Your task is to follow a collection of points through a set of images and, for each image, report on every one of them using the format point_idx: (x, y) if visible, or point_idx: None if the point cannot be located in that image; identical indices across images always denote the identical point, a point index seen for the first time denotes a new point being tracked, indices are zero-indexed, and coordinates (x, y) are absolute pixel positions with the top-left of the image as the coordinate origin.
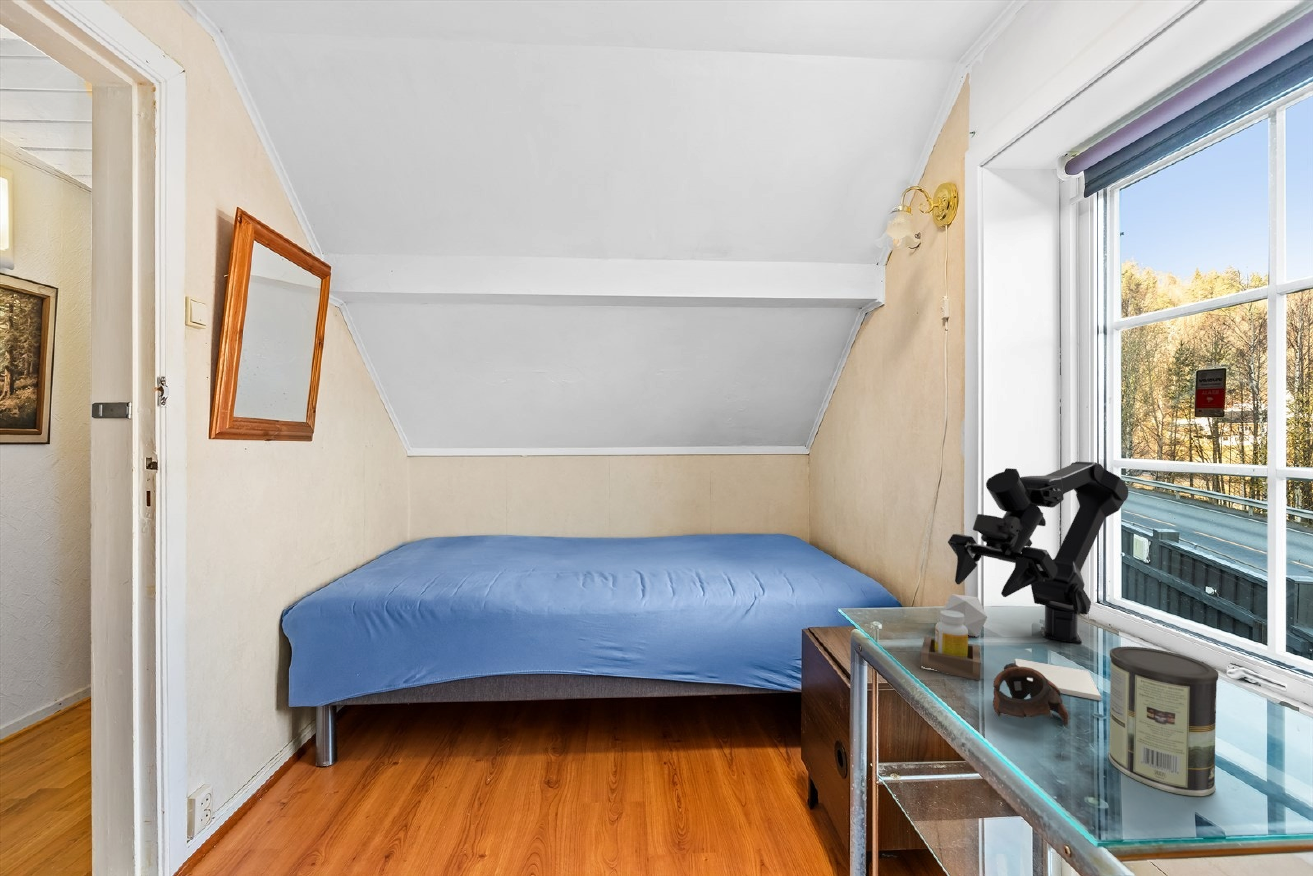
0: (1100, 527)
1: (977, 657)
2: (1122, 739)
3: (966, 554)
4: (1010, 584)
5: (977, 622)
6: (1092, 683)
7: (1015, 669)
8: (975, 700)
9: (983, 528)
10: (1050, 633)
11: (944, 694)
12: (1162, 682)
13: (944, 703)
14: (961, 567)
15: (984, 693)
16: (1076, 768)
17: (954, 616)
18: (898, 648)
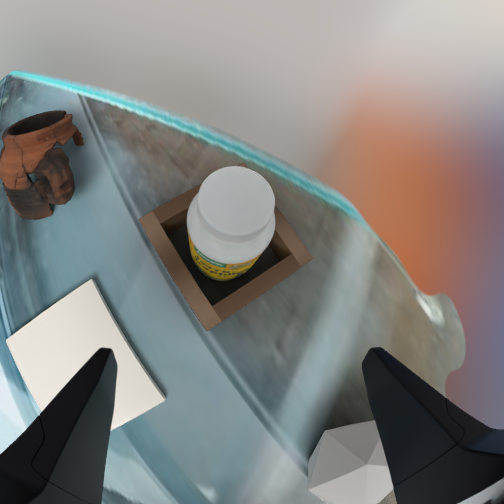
0: None
1: (160, 243)
2: None
3: (472, 470)
4: (63, 387)
5: (314, 463)
6: (32, 391)
7: (39, 130)
8: (114, 154)
9: None
10: None
11: (153, 132)
12: None
13: (139, 112)
14: (420, 400)
15: (116, 188)
16: (8, 125)
17: (212, 176)
18: (332, 234)
